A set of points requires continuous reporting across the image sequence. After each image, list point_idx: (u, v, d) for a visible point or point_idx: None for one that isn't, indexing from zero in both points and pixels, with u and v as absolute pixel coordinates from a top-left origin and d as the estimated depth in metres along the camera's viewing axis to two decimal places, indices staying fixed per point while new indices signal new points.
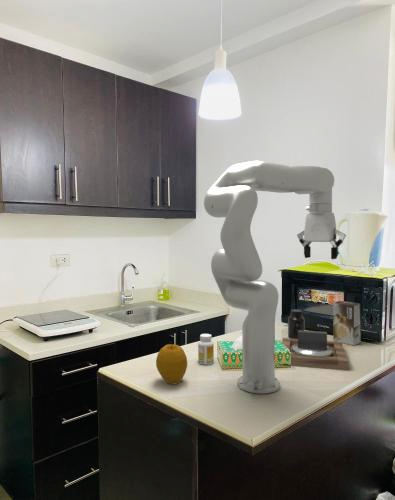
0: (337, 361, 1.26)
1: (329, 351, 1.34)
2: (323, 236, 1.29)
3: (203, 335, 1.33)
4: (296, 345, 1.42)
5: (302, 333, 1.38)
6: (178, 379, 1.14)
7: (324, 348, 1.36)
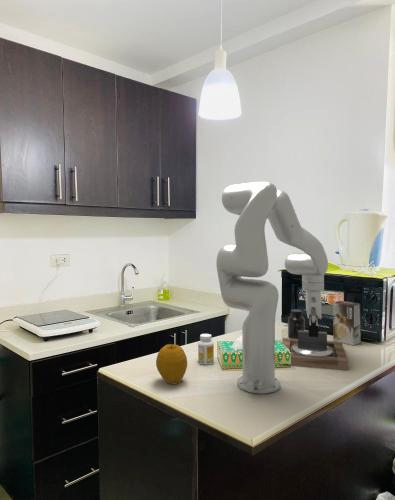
0: (337, 361, 1.26)
1: (329, 351, 1.34)
2: None
3: (203, 335, 1.33)
4: (296, 345, 1.42)
5: (302, 333, 1.38)
6: (178, 379, 1.14)
7: (324, 348, 1.36)
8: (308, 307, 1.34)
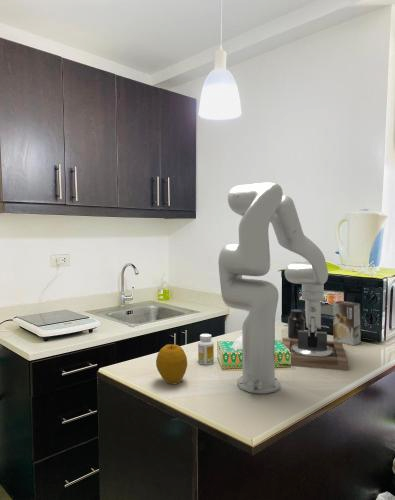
0: (337, 361, 1.26)
1: (329, 351, 1.34)
2: None
3: (203, 335, 1.33)
4: (296, 345, 1.42)
5: (302, 333, 1.38)
6: (178, 379, 1.14)
7: (324, 348, 1.36)
8: (307, 316, 1.34)
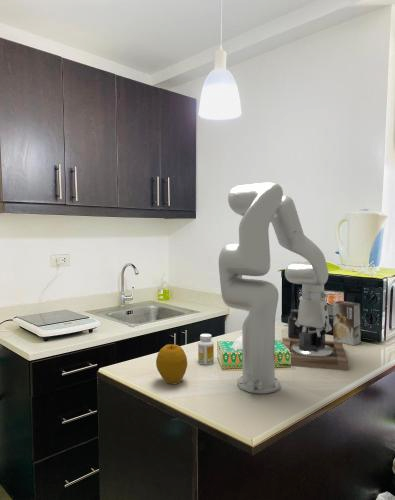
0: (337, 361, 1.26)
1: (330, 348, 1.39)
2: None
3: (203, 335, 1.33)
4: (296, 348, 1.38)
5: (307, 335, 1.36)
6: (178, 379, 1.14)
7: (323, 345, 1.39)
8: (323, 317, 1.33)
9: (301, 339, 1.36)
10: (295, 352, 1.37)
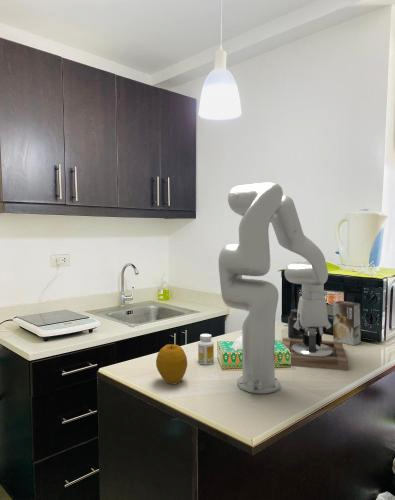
0: (337, 361, 1.26)
1: None
2: None
3: (203, 335, 1.33)
4: (306, 352, 1.34)
5: (315, 336, 1.35)
6: (178, 379, 1.14)
7: None
8: None
9: (312, 341, 1.34)
10: None
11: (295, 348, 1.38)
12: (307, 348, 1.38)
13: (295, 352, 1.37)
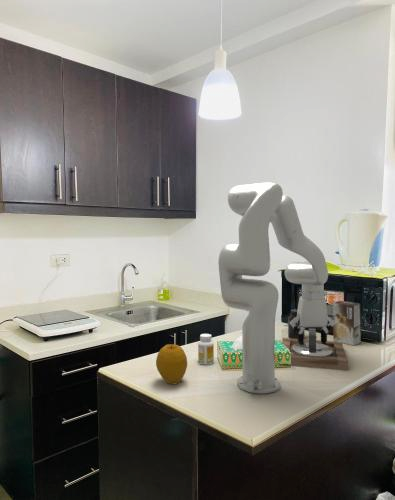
0: (337, 361, 1.26)
1: None
2: None
3: (203, 335, 1.33)
4: (306, 352, 1.34)
5: None
6: (178, 379, 1.14)
7: None
8: None
9: (312, 341, 1.34)
10: None
11: (295, 348, 1.38)
12: (307, 348, 1.38)
13: (295, 352, 1.36)
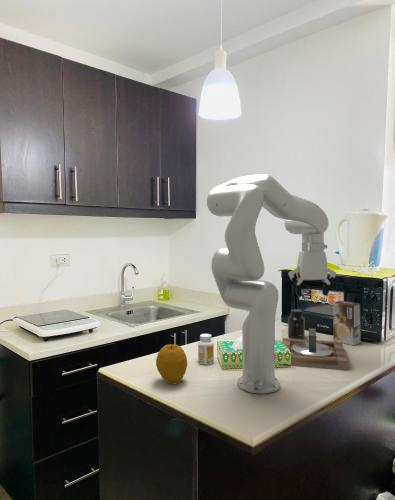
0: (337, 361, 1.26)
1: None
2: None
3: (203, 335, 1.33)
4: (306, 352, 1.34)
5: None
6: (178, 379, 1.14)
7: None
8: (327, 267, 1.36)
9: (312, 341, 1.34)
10: None
11: (295, 348, 1.38)
12: (307, 348, 1.38)
13: (295, 352, 1.36)
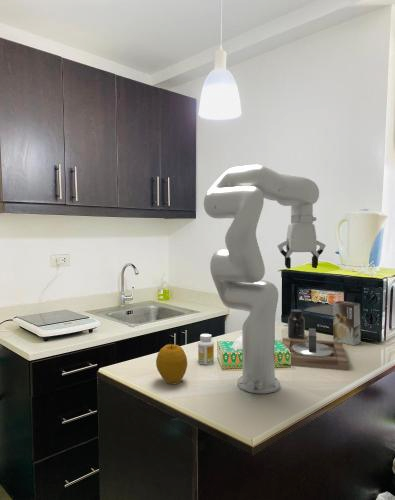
0: (337, 361, 1.26)
1: None
2: None
3: (203, 335, 1.33)
4: (306, 352, 1.34)
5: None
6: (178, 379, 1.14)
7: None
8: None
9: (312, 341, 1.34)
10: None
11: (295, 348, 1.38)
12: (307, 348, 1.38)
13: (295, 352, 1.36)
